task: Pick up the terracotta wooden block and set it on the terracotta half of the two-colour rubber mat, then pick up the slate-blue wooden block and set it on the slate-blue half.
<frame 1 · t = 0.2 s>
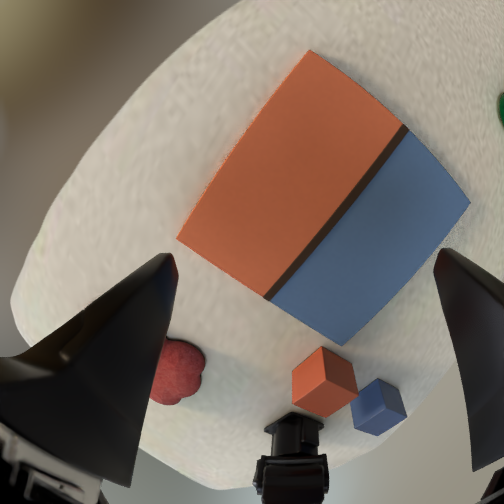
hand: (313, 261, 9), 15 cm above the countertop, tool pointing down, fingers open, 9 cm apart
terracotta block: (322, 367, 30), on the countertop
slate-blue block: (374, 394, 31), on the countertop
sorting mat: (335, 214, 23), on the countertop
red lumpy blob: (138, 356, 33), on the countertop
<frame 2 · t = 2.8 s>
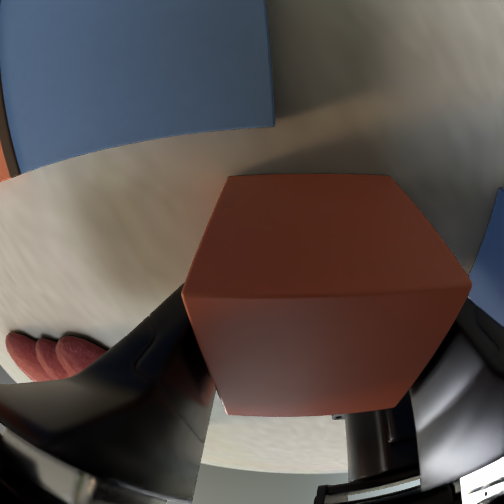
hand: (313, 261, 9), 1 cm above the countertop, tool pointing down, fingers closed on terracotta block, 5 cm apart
terracotta block: (309, 243, 9), on the countertop, touching gripper
red lumpy blob: (83, 379, 20), on the countertop
when the fingers open (2 cm above the countertop, at t = 17.9 s): terracotta block stays where it is, resting on sorting mat.
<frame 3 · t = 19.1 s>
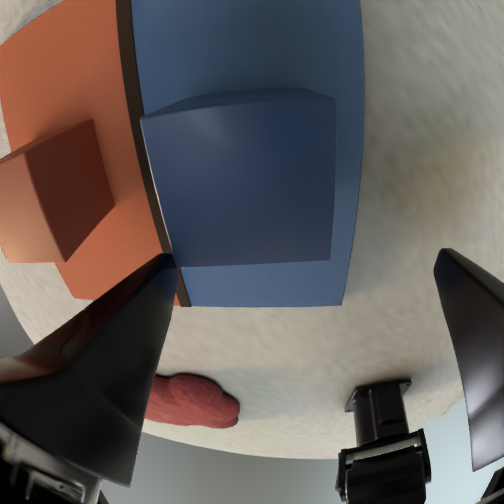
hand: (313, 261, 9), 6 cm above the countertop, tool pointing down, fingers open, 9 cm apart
terracotta block: (70, 171, 13), point 1 cm above the countertop, touching sorting mat
slate-blue block: (250, 146, 12), point 1 cm above the countertop, touching gripper, sorting mat
sorting mat: (149, 152, 13), on the countertop
red lumpy blob: (170, 397, 30), on the countertop
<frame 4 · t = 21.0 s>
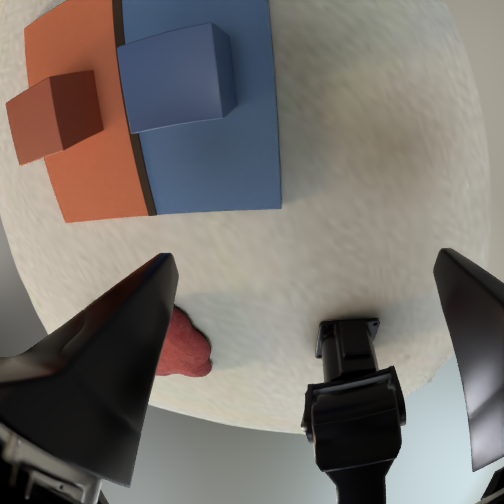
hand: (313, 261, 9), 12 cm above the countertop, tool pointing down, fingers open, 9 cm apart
terracotta block: (74, 108, 16), point 1 cm above the countertop, touching sorting mat
slate-blue block: (194, 76, 15), point 1 cm above the countertop, touching sorting mat
sorting mat: (130, 90, 16), on the countertop
red lumpy blob: (147, 341, 33), on the countertop
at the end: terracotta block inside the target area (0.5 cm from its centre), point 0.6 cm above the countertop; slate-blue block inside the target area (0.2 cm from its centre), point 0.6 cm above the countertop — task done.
